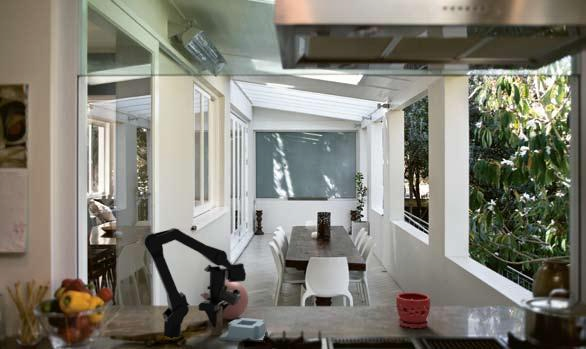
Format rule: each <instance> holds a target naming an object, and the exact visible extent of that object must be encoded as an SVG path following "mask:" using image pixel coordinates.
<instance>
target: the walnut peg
mask: <svg viewBox="0 0 586 349" xmlns="http://www.w3.org/2000/svg"><path fill="white" fill-rule="evenodd" d="M218 309H221V310H220V311H219V312H218V314H217V322H216V327H213V326H212V324H211V323H210V324H211V325H210V329H211V330H210V334H211V336H221V335H223V318H222V306H220V305H219V306H218Z"/></svg>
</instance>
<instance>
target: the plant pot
mask: <svg viewBox="0 0 586 349" xmlns="http://www.w3.org/2000/svg"><path fill="white" fill-rule="evenodd" d="M395 298H396V300H395V302H396V310H397V314H398V317H399V318H398V319H397V322H398V324H399V325H400V326H402V327H404V326H405V327H404V328H407V327H410V328H409V329H414V328H418V329H423V328H426V327H427V326H428V324H429V322H428V320H427V319H428V317H429V314H430V311H431V310H430V309H431V297H430V296H429V295H428V294H424V293H419V292H401V293H399V294H396V297H395ZM422 327H423V328H422Z"/></svg>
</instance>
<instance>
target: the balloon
mask: <svg viewBox="0 0 586 349" xmlns="http://www.w3.org/2000/svg"><path fill="white" fill-rule="evenodd" d="M225 285H227V286H228V290H230V291H231V290H232V291H234V290H235V289H238V290H240V297H241V298H240V299H239V300H238V303H237V304H235V305H229V306H228V307H227V308H226V309H225V311H224V314H223V318H222V319H225V320H227V319H228V320H231V319H236V318H238V317H240V316H241V315H242V314H244V312H245V311H246V309H247V307H248V304H249V294H248V291H247V290H246V288H245V287H244V286H243V284H241V282H229V281H228V280H225ZM199 295H200V297H202V298H203V299H204V301H208V300H207V298H208V297H209V291H208V292H207V291H205V292H203V293H201V294H199ZM227 304H229V303H227Z"/></svg>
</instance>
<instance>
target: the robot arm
mask: <svg viewBox="0 0 586 349" xmlns="http://www.w3.org/2000/svg"><path fill="white" fill-rule="evenodd" d="M173 241H176V242H178V243H180V244H182V245H183V246H186V247H188V248H190V249H191V250H194V251H195V252H197V253H199V254H200V255H202V257H204V259H206V260H208V261H209V262H210V263H212V264H213V265H216V266H212V265H211V264H208V265H207V266H206V267H205V268H204V270H203V271H204V272H206V273H209V285H208V286H206V287H207V290H209V291H208V292H209V297H208V298H207V300H204V301H201V302H200V303H199V304H198V311H199V312H205V314H206V316H207V318H208V320H209V322H210V324H212V326H213V327H216V322H217V314H218V312H219V311H220V310H221V309H218V306H219V305H220V306H222V319H224V318H223V314H224V311H225V309H226V308H227V307H228V306H229V305H235V304H237V303H238V300H239V299H240V298H241V297H240V290H238V289H235V290H234V291H232V290H231V291H230V290H228V286H227V285H225V281H229V282H238V283H241V282H245V281H246V276H247V273H246V270H245V266H244V265H245V264H244V263H243V262H242V263H241V262H240V263H231V262H230V260H229V259H228V255H227V252H226V251H225V250H222V249H219V248H217V247H213V246H210V245H207V244H206V243H203V242H201V241H200V240H198V239H196V238H194V237H192V236H190V235H189V234H186V233H185V232H183V231H182V230H180V229H179V228H176V227H171V228H170V229H166V230H162V231H159V232H155V233H154V232H147V233H144V235H143V236H142V238H141V244H142V246H143V248H144V249H145V251H146V252H147V253H148V255H149V256H150V258H151V260H152V262H153V264H154V267H155V269H156V271H157V274H158V276H159V280H160V281H161V284H162V286H163V288H164V291H165V293H166V301H167V308H166V310H164V312H162V318H163V319H164V320H165V321H164V323H163V337H164V336H167V337H170V338H173V337H178V336H180V335H182V323H183V321H184V319H185V317H186V316H187V315H188V313H189V311H190V309H189V306H190V303H189V302H188V300H187V296H186V294H185V293H184V292H182V291H181V292H179V290H178V288H177V286H176V283H175V280H174V278H173V276H172V273H171V271H170V269H169V266H168V264H167V261H166V258H165V255H164V246H163V245H166V244H169V243H171V242H173ZM221 266H222V268H221ZM223 267H224V268H223ZM227 303H229V304H227ZM175 341H176V340H175ZM176 342H177V341H176Z"/></svg>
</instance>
